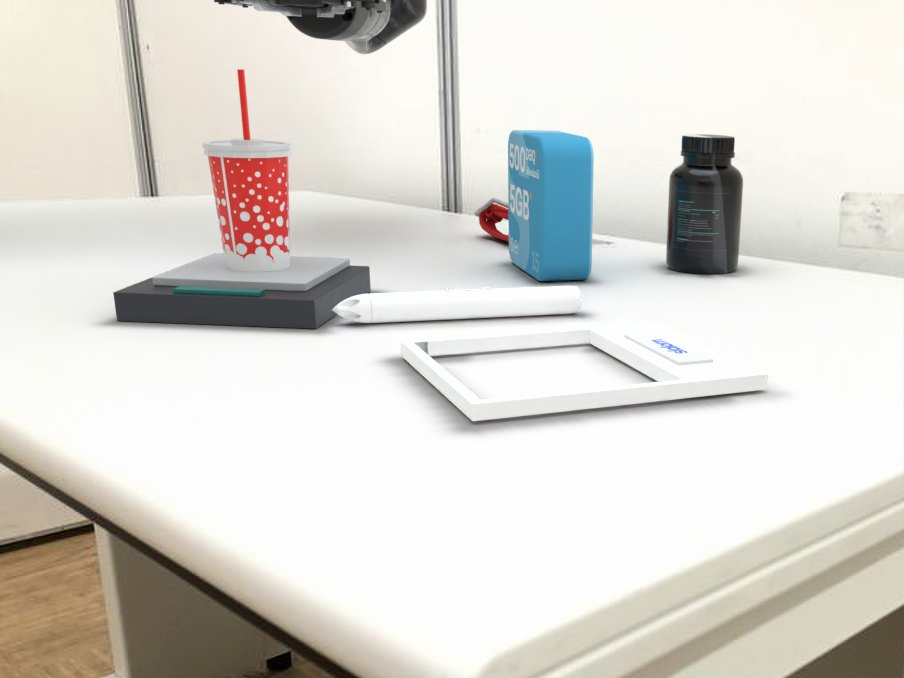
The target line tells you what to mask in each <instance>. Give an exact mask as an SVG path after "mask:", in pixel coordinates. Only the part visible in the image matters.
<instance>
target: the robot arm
mask: <svg viewBox="0 0 904 678" xmlns="http://www.w3.org/2000/svg"><path fill="white" fill-rule="evenodd" d="M213 2H214V3H218V5H225V4H226V5H232V6H240V7H242V8H244V9H245V8H246V9H248V8H249V7H253V9H254V10H255V11H257V12H269V13H270V12H271V13H280V14H282V15H283V16H285V17H286V18H287V20H288V21H289V22H290V25H292V26H293V27H294V28H295V29H296V30H298V31H299V32H300V33H301V34H303V35H305V36H307V37H310V38H313V39H316V40H328V41H337V42H345V44H346V45H347V46H348V47H349V48H350V49H351V50H353V51H354V52H356V53H357V54H360V55H370V54H373V53H376V52H377V51H379V50H381V49H382V48H384V47H385V46H387V45H388V44H390V43H391V42H393V41H394V40H396V39H397V38H399V37H400V36H402V35H403V34H405V33H406V32H407V31H409V30H411V29H412V28H414V27H415V26H417V25H418V24H420V23H421V22H422V21H423V20H424V19H425V17H426V15H427V13H428V1H427V0H213Z"/></svg>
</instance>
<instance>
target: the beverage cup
mask: <svg viewBox="0 0 904 678" xmlns="http://www.w3.org/2000/svg"><path fill="white" fill-rule="evenodd" d="M236 71H237V83H238V93H239V104H240V105H239V106H240V115H241V123H242V124H241V125H242V136H243V137H242V138H231V139H227V140H225V139H223V140H210V141H209V140H207V141H204V142H202V144H201V145H202V148H203V155H205V156H207V160H208V166H209V173H210V177H211V184H212V189H213V190H212V191H213V196H214V201H215V209H216V214H217V220H218V227H219V233H220V238H221V239H220V240H221V246H222V251H223V253H224V258H225V264H226V268H227V269H229V270H234V271H242V272H267V271H277V270H283V269H286V268H289V266H290V256H291V240H290V239H291V238H290V237H291V236H290V232H291V231H290V186H289V185H290V180H289V177H290V175H289V157H291V156H292V151H291V149H292V143H290V142H288V141H277V140H264V139H261V138H251V131H250V119H249V118H250V117H249V108H248V106H249V105H248V99H247V98H248V97H247V95H248V94H247V86H246V85H247V84H246V74H245V69H243V68H242V69H239V68H238V69H236Z"/></svg>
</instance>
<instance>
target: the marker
mask: <svg viewBox="0 0 904 678" xmlns="http://www.w3.org/2000/svg"><path fill="white" fill-rule="evenodd" d="M581 299H582V297H581V291H580V288H579V286H577V285H553V286H552V285H551V286H550V285H549V286H523V287H506V288H505V287H501V288H499V287H497V288H491V287H490V286H484V287H483V285H481V287H480V288H462V286H460V288H458V287H453V289H449V288H448V287H446V288H445V289H444V290H423V291H422V290H421V291H404V292H403V291H400V292H399V291H398V292H397V291H396V292H374V293H373V292H372V293H371V292H368V293H367V294H360V295H355V296H352V297H350V298H347V299H345V300H343V301H342V302H340V303H339V304H337V305H336V306H335V307H334V308H333V309H332V310H333V311H334V312H335V313H336V315H338V316H340V317H342V318H344V319H347V320H349V321H351V322H356V323H359V324H380V323H382V324H383V323H400V322H401V323H402V322H403V323H405V322H421V321H422V322H423V321H442V320H464V319H467V320H468V319H486V318H505V317H509V318H510V317H527V316H528V317H529V316H549V315H551V316H552V315H568V314H577V313H579V312H580V311H581V306H582V301H581Z"/></svg>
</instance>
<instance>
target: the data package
mask: <svg viewBox="0 0 904 678" xmlns="http://www.w3.org/2000/svg"><path fill="white" fill-rule="evenodd" d="M594 156H595V155H594V148H593V144H592V141H591V139H590V138H589V137H586V136H583V135H578V134H573V133H569V132H564V131H561V130H536V129H535V130H534V129H533V130H531V129H530V130H529V129H528V130H527V129H523V130H522V129H513V130H511V131H510V133H509V135H508V139H507V183H508V184H507V189H508V190H507V194H508V198H507V199H508V201H507V203H508V208H507V209H508V212H509V220H508V236H509V242H508V253H509V257H510V261H511V262H512V263H513V265H515V266H517V267H518V268H519V269H520V270H522V271H524V272H525V273H527V274H529V276H531V277H533V278H534V279H535V280H537V281H539V282H550V281H551V282H557V281H585V280H586V281H587V279H589V278H590V276H591V272H592V267H593V266H592V265H593V224H594V223H593V220H594V219H593V217H594V216H593V215H594V163H595V161H594V159H595V157H594Z"/></svg>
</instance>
